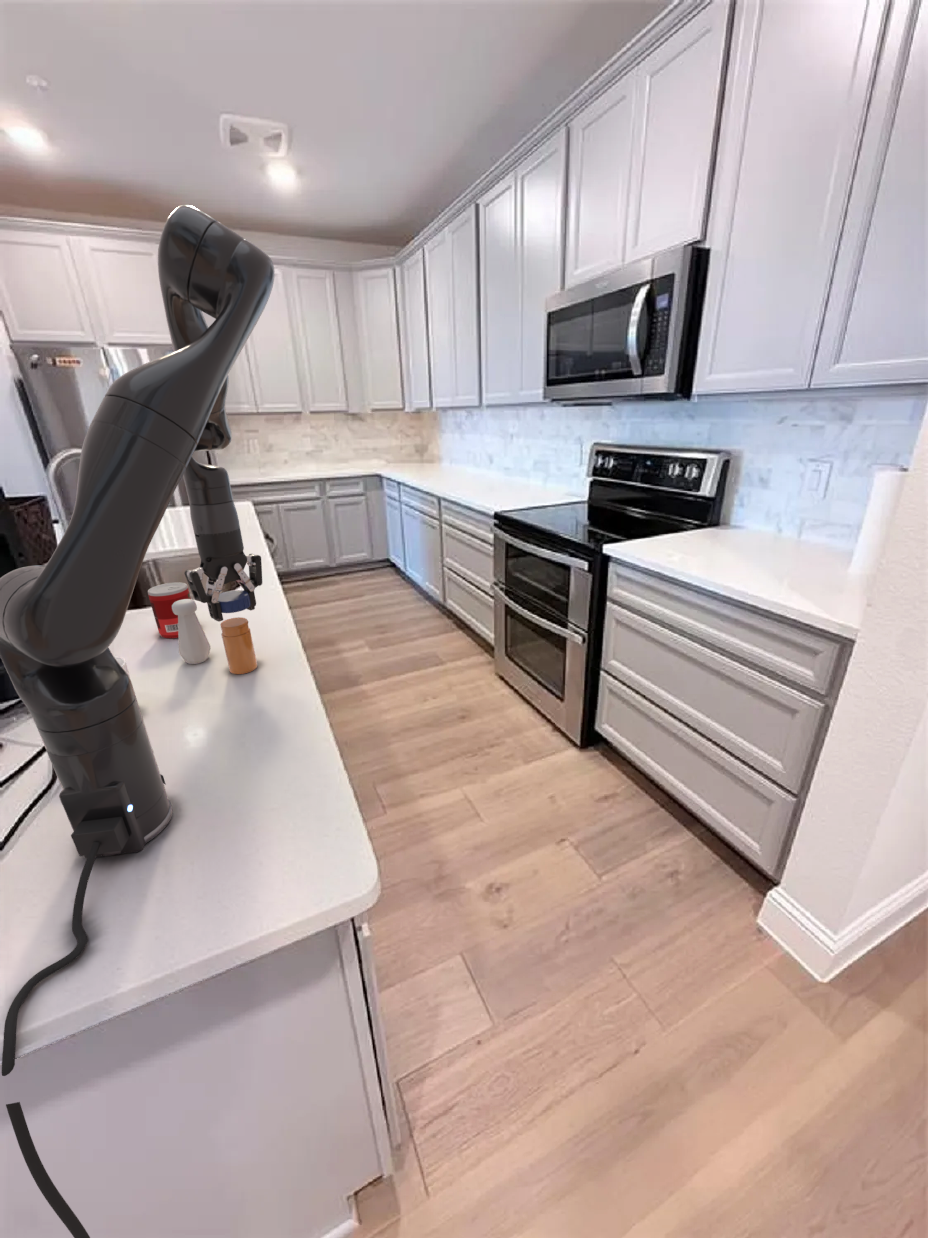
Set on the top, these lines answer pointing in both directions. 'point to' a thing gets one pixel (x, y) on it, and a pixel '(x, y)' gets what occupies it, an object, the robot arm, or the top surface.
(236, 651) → the jar
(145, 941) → the top surface
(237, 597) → the lid
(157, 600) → the canned food
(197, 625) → the salt shaker
